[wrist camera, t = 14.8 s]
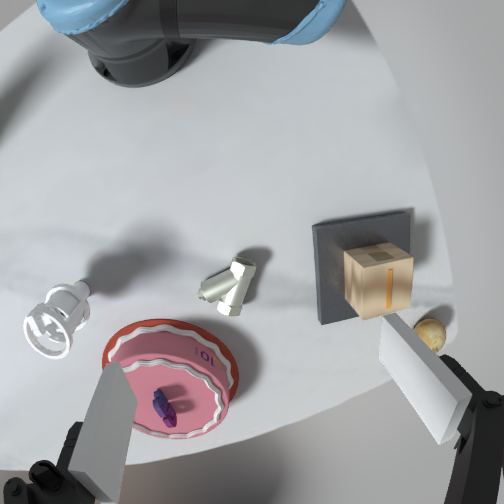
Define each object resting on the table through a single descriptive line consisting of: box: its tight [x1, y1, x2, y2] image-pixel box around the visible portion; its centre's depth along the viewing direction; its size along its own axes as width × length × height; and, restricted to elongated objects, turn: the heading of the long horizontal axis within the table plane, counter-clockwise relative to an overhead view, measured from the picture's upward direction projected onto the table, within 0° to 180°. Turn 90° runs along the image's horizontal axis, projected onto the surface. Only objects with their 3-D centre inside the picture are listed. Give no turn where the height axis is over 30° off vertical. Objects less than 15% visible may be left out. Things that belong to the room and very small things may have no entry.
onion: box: [413, 319, 446, 357], centre depth 52 cm, size 8×8×7 cm
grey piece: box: [312, 212, 410, 325], centre depth 46 cm, size 16×16×8 cm
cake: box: [102, 319, 239, 439], centre depth 47 cm, size 25×25×11 cm
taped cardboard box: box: [344, 242, 414, 320], centre depth 44 cm, size 8×8×7 cm
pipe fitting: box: [197, 257, 256, 316], centre depth 46 cm, size 8×4×7 cm
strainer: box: [23, 281, 90, 359], centre depth 38 cm, size 7×7×15 cm
